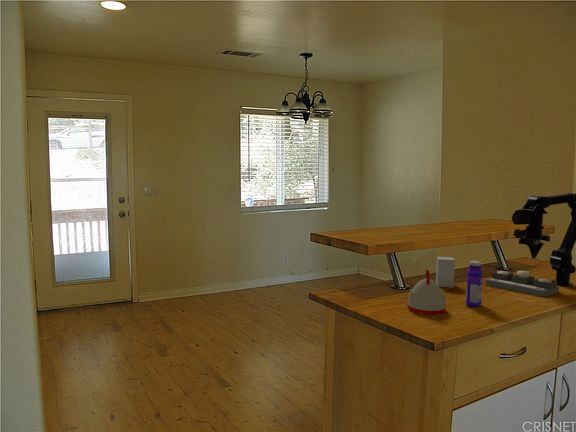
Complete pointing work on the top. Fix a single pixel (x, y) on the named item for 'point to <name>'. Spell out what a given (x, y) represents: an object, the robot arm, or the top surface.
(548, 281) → the button end
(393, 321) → the top surface
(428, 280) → the grey dome
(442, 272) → the supplement box
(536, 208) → the robot arm
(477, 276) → the bottle
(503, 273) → the button
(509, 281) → the button board
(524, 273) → the button mid
